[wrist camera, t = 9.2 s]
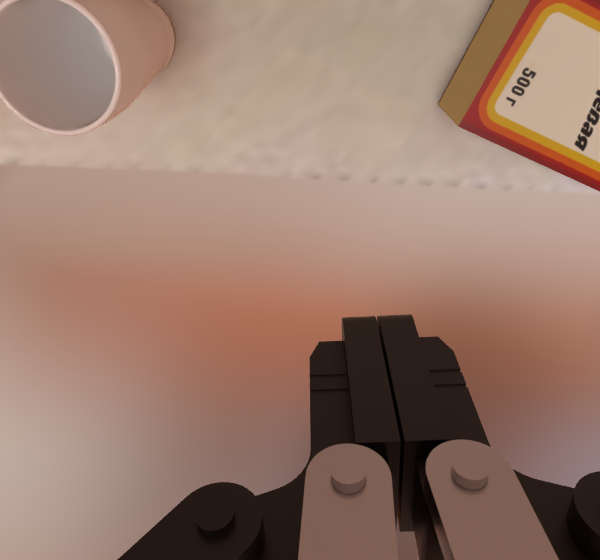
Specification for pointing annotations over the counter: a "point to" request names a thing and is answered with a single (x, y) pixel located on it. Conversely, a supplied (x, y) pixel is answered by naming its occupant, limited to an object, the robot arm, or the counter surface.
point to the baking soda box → (535, 84)
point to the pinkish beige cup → (79, 59)
